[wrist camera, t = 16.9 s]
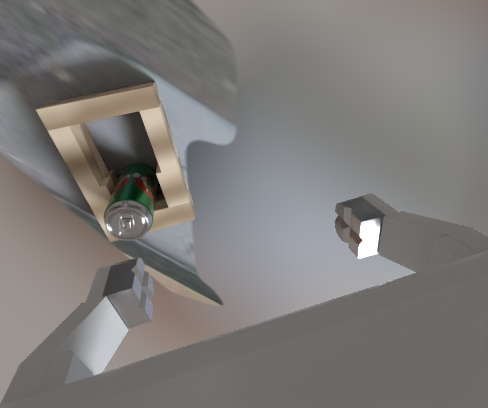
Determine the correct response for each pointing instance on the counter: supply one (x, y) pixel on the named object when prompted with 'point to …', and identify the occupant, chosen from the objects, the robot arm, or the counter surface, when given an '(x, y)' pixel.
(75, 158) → the keyhole board
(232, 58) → the counter surface
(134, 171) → the soda can
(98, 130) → the counter surface
